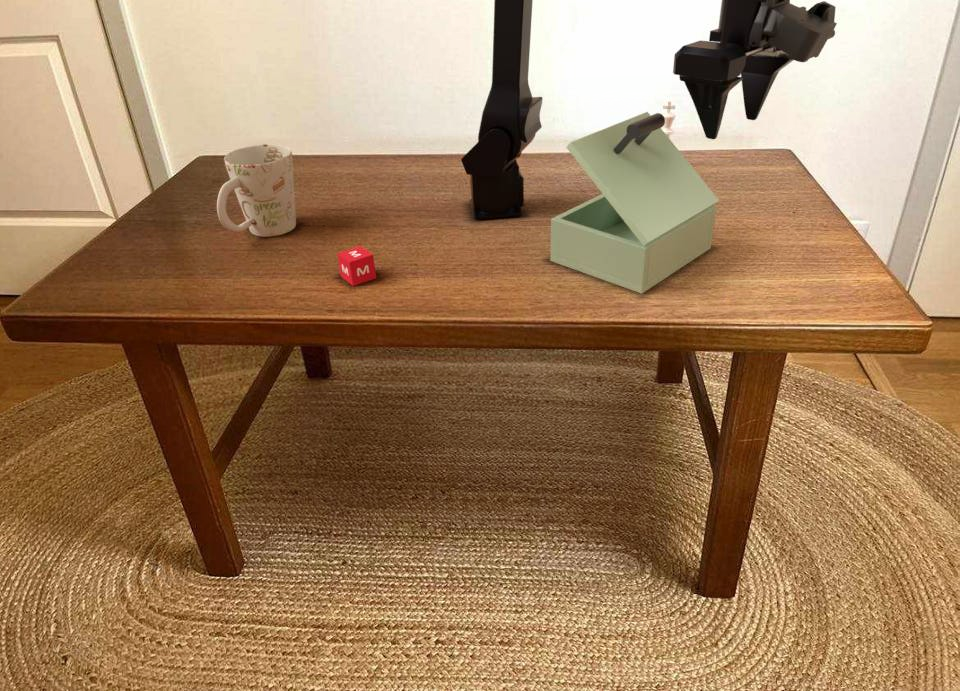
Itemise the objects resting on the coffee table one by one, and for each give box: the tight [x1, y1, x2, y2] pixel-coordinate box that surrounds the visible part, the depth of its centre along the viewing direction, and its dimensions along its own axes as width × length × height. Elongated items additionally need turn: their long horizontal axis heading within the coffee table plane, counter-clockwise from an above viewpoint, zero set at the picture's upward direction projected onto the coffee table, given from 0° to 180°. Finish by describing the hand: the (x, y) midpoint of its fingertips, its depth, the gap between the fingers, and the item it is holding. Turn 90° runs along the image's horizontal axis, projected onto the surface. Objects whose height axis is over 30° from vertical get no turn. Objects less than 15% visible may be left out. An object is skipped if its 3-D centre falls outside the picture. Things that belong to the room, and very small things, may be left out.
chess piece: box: [661, 100, 676, 140], centre depth 107 cm, size 5×5×10 cm
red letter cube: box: [337, 245, 377, 287], centre depth 83 cm, size 3×3×3 cm
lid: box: [565, 111, 720, 246], centre depth 78 cm, size 13×15×5 cm
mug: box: [216, 143, 297, 238], centre depth 92 cm, size 8×13×10 cm, turn 155°
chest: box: [549, 193, 717, 295], centre depth 84 cm, size 13×15×5 cm
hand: (731, 128), depth 83 cm, fingers open, 9 cm apart
